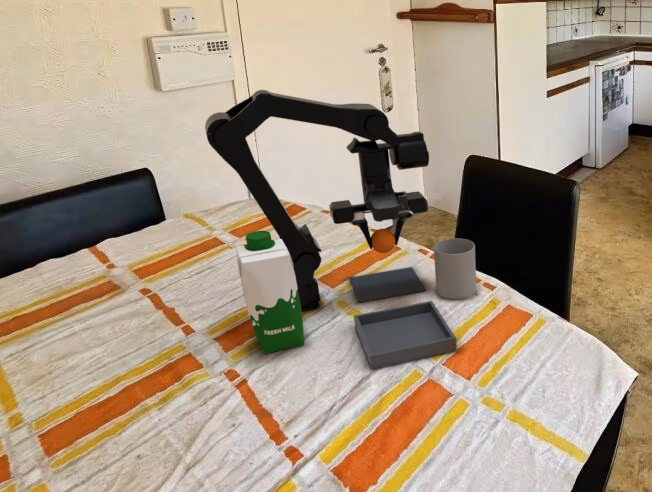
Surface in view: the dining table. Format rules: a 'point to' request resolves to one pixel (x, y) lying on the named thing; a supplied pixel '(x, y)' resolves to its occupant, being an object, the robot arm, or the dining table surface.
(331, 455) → the dining table surface
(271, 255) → the milk carton
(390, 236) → the ball
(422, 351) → the shallow grey tray
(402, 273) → the mat
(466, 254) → the cup
